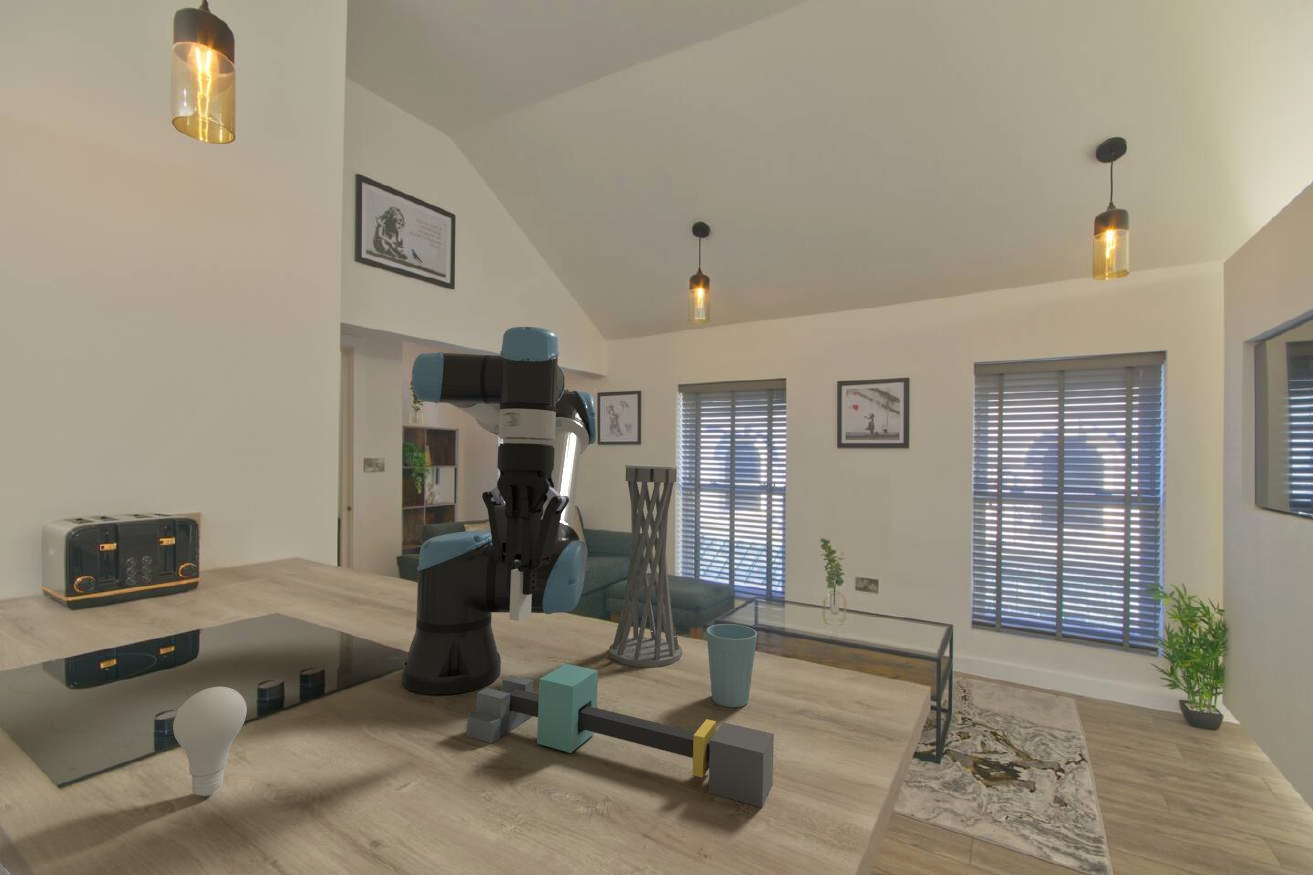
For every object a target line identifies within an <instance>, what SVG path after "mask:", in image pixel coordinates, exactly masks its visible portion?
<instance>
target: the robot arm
mask: <svg viewBox="0 0 1313 875" xmlns="http://www.w3.org/2000/svg"><path fill="white" fill-rule="evenodd" d="M558 339H559V338H558V335H557V334H556V333H555V332H553V331H552V330H549V329H547V328H541V327H534V326H515V327H510V328H508V329H507V330H505V331H504V333H503V336H502V343H501V350H500V353H499V354H500V355H499V354H498V355H496V354H495V355H493V354H474V353H473V354H472V353H471V354H469V353H452V352H451V353H449V352H447V353H446V352H443V351H438V352H422V353H420V354H418V356H416V358H415V359H414V361H413V364H412V365H413V366H412V369H411V370H412V371H411V383H412V390H413V393H414V394H415V396H416V398H417V399H418V400H419V401H422V402H428V403H434V404H439V403H445V404H449V405H452V406H454V407H456V408H457V409H459V410H460V411H463V413H466V414H468V415H469V416H471V417H472V418H474V419H475V420H476V422H477V424H478V425H479V427H481V428H482V429H483V430H485V431H486V432H489V433H491V434H493V435H496V436H498V438H499V439H500V440H502V443H499V445H497V462H496V463H497V466H496V467H497V469H498V470H499V472H500V474H499V477H498V479H497V481H496V486H495V487H494V488H492V490H489V491H484V492H483V493H482V494H481V498H482V500H483V502H484V505H485V507H486V509H487V515H488V521H489V522H488V523H489V529H488V530H487V529H476V530H466V531H458V532H453V533H447V534H443V535H437V536H433V537H431V538H429V539H427V540H425V541H424V542H423V543H422V544H421V547H420V550H419V558H418V559H419V560H418V566H417V568H416V571H417V587H416V588H417V590H416V593H417V595H416V625H415V633H414V635H413V638H412V640H411V644H410V647H409V650H408V654H407V658H406V659H405V660H404V662H403V664H402V670H401V673H402V674H401V685H402V686H403V687H404V688H406V689H407V690H409V691H412V692H414V693H419V694H424V695H451V694H452V695H453V694H454V695H455V694H461V693H466V692H470V691H474V690H478V689H481V688H483V687H485V686H488V685H490V684H492V683H493V682H495V681H496V680H497V679H498V678H499V677H500V675H501V670H502V669H501V668H502V665H501V663H502V662H501V660H502V658H501V656H500V653H499V652H498V647H497V645H496V644H497V643H496V640H495V636H494V632H493V628H492V617H493V616H492V614H493V613H509V617H508V618H509V620H512V621H517V622H519V621H522V620H525V619H527V618H529V617H531V616H532V613H533V614H545V615H552V614H555V613H556V614H558V613H570V612H572V611H573V610H575V608H576V607H577V606H578V604H579V602H580V599H581V596H582V592H583V588H584V582H585V579H586V578H585V576H586V569H587V564H588V562H587V561H588V560H587V559H588V547H587V544H586V543H585V542H584V541H581V540H580V535H579V534H578V532H577V530H576V529H575V528H574V527H573V526H574V519H575V517H574V516H575V507H576V500H577V499H576V498H577V488H578V481H579V480H578V477H579V469H580V459H581V455H582V454H583V453H585V451H586V450H587V448H588V446H589V445H593V444H595V443H596V439H597V425H596V424H597V423H596V422H597V421H596V408H595V407H596V406H595V400H594V397H593V395H592V394H591V393H590V392H586V391H577V390H573V391H570V390H569V391H568V390H567V391H566V390H565V387H566V384H565V383H566V382H565V380H566V379H565V375H564V372H563V370H562V368H561V367H560V366H559V365H558V362H559V361H558V357H559V354H560V352H559V344H558V343H559V340H558Z"/></svg>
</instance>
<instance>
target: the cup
mask: <svg viewBox="0 0 1313 875" xmlns="http://www.w3.org/2000/svg"><path fill="white" fill-rule="evenodd" d="M757 638H758V632H757V630H755V629H753V628H751V627H748V626H746V625H741V624H733V623H732V624H731V623H722V624H721V623H720V624H713V625H710V626H708V627H707V628H706V642H707V650H708V654H707V655H708V665H709V677H710V689H711V690H710V691H711V699H712V701H713V702H714V703H715V704H717V705H719V706H722V707H726V708H742V707H744V706H746V705H747V704H748V702H749V699H750V691H751V685H752V684H751V683H752V676H753V670H754V662H755V655H756V654H755V652H756V645H757Z"/></svg>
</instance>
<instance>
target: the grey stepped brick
mask: <svg viewBox="0 0 1313 875" xmlns="http://www.w3.org/2000/svg"><path fill="white" fill-rule="evenodd" d="M515 689H520V690H524V691H528V692H532V693H534V680H533V679H529V678H524V677H521V676H516V675H511V674H510V675H508V676H506V677H504V678H503V679H501V690H497V689H494V688H489V687H485V688H483V689H481V690H479V691H477V693H476V712H474V713H471V714H470V715H469V716H467V731H466V732H467V733H466V737H469V738H472V739H475V740H478V741H481V742H484V743H485V742H486V743H488V744H493V743H495V742H496V741H498V740H499V739H500V738H503V736H505V735H507V734H508V733H510V732H511V731H513V730H514V729H516V728H517V727H519V726H520V725H521V724H523V723H524V722H526V721H528V720H529V719H531V718H532V717H533V716H530V715H526V714H522V713H519V712H515V711H511V710H510V692H512V691H514V690H515Z"/></svg>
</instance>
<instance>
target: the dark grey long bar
mask: <svg viewBox="0 0 1313 875" xmlns="http://www.w3.org/2000/svg"><path fill="white" fill-rule="evenodd" d="M538 704H539V693H537V692H533V693H532V692H528V691H524V690H520V689H515V690H514V691H512V692H510V710H511V711H515V712H519V713H522V714H526V715H530V716H532V717H535V718H538ZM578 728H580V729H584V730H587V731H591V732H595V733H596V734H600V735H603V736H608V737H610V738H615V739H618V740H622V741H627V742H630V743H634V744H637V745H640V746H641V745H642V746H645V747H649V748H653V749H656V750H661V751H665V752H668V753H672V754H676V755H680V756H684V757H687V758H690V759H692V776H695V777H698V778H704V777H705V775H706V774H707V772H709V756H710V739H711V738H712V737H713V735H714V734H715V733H716V731H717V721H716V720H711V719H705V721H703V722H702V724H701V725H700V727H699V728H698V729H697V730H696V731H694V730H690V729H685V728H681V727H676V726H672V725H669V724H664V723H660V722H657V721H652V720H648V719H643V718H639V717H635V716H630V715H627V714H623V713H618V712H615V711H611V710H607V709H602V708H598V707H597V708H594V707H590V706H586V705H584V706H582V707H581V708H580V709H578ZM595 733H594V734H595Z"/></svg>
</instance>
